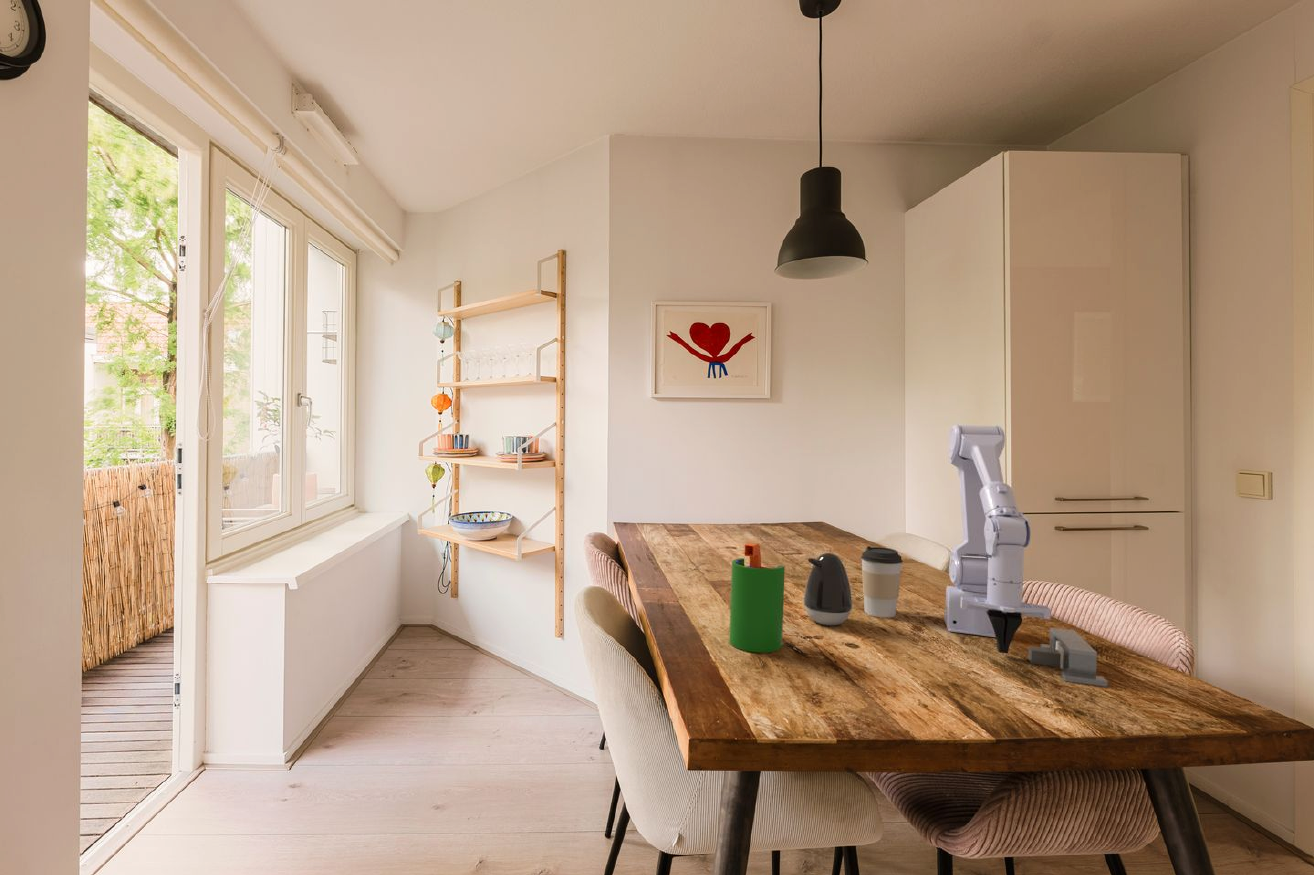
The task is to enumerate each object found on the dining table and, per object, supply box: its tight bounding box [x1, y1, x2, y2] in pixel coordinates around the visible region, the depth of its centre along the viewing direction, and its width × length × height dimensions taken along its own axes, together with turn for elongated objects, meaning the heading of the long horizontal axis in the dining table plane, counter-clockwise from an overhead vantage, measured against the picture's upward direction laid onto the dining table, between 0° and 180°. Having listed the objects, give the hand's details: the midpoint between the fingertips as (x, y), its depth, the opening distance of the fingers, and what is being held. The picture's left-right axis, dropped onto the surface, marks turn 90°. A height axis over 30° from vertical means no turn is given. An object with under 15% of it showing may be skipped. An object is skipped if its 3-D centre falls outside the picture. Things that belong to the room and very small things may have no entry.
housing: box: [1040, 627, 1108, 688], centre depth 107 cm, size 6×16×5 cm, turn 160°
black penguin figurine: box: [803, 552, 853, 627], centre depth 129 cm, size 10×10×15 cm
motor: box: [729, 542, 786, 654], centre depth 114 cm, size 10×9×20 cm
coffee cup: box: [860, 545, 903, 619], centre depth 136 cm, size 9×9×15 cm
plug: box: [1027, 641, 1064, 670], centre depth 108 cm, size 8×4×4 cm, turn 70°
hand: (1002, 651), depth 111 cm, fingers closed
